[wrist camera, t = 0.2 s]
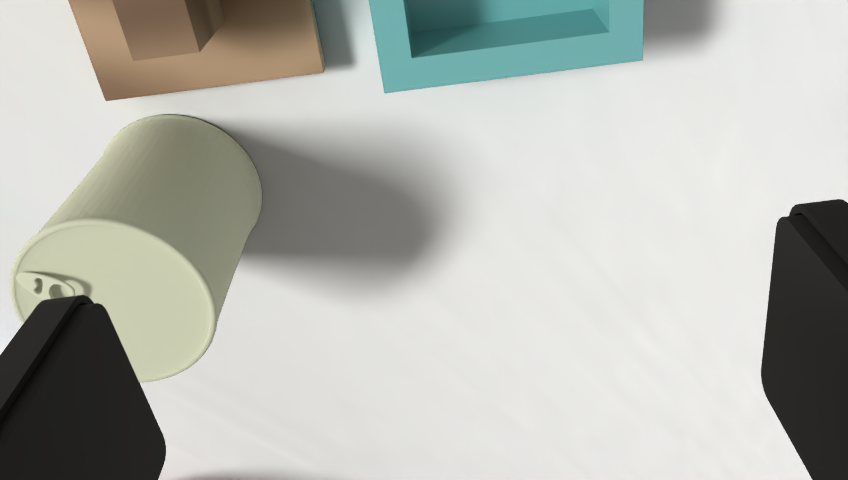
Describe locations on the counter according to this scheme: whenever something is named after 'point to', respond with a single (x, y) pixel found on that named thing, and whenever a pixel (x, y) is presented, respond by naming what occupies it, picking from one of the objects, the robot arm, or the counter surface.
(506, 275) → the counter surface
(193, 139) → the can
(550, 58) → the dish
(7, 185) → the counter surface
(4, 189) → the counter surface
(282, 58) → the lid
